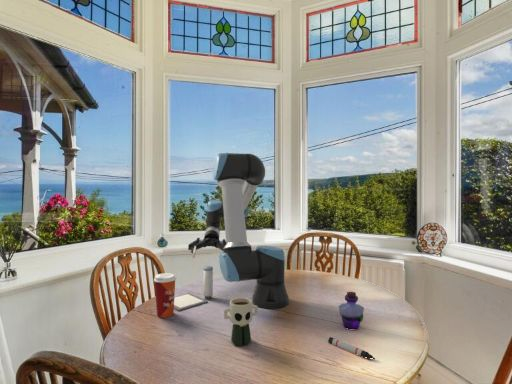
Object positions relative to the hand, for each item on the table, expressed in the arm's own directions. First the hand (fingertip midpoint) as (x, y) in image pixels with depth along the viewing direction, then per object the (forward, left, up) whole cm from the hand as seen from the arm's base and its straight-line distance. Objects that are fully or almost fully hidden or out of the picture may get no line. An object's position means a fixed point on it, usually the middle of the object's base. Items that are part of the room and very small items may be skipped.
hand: (209, 256), depth 151 cm
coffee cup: (-7, +26, -17) cm, 32 cm away
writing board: (-1, +13, -17) cm, 22 cm away
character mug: (-44, +19, -17) cm, 51 cm away
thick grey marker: (-4, +3, -17) cm, 18 cm away
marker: (-71, -1, -18) cm, 73 cm away
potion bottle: (-62, -16, -17) cm, 66 cm away
